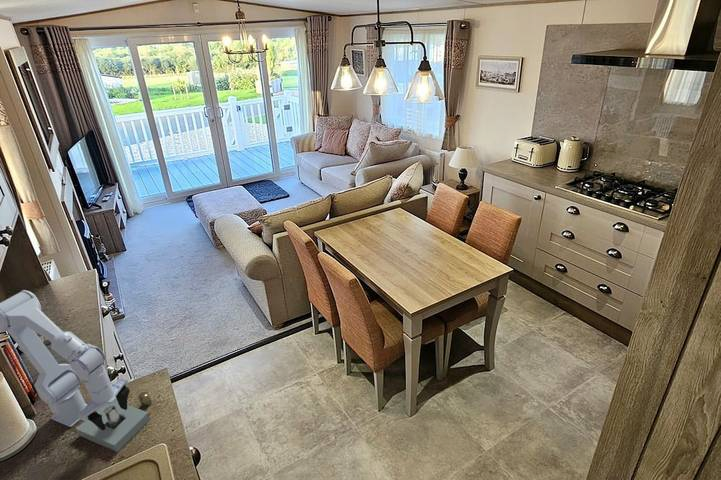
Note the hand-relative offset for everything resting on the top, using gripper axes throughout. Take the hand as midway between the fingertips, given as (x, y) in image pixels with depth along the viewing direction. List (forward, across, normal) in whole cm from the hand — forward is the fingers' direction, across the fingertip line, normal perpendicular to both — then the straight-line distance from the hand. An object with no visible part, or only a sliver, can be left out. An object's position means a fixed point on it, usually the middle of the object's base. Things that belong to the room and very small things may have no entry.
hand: (113, 418), depth 123 cm
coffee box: (+5, +11, +40) cm, 42 cm away
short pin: (+4, +10, -1) cm, 11 cm away
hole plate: (+4, 0, +1) cm, 5 cm away
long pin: (+4, 0, 0) cm, 4 cm away
